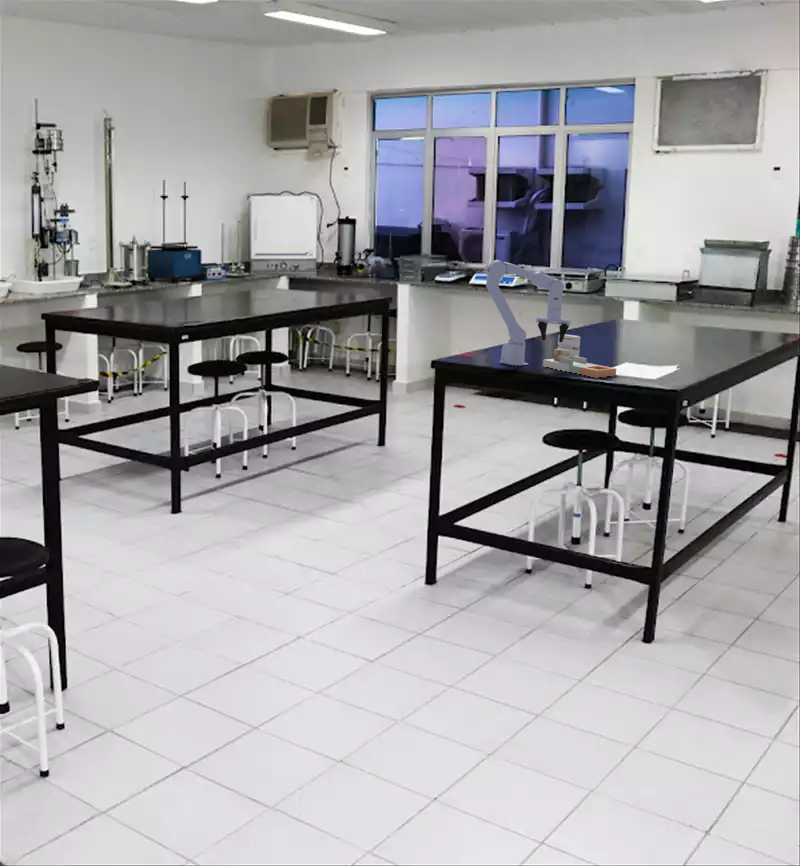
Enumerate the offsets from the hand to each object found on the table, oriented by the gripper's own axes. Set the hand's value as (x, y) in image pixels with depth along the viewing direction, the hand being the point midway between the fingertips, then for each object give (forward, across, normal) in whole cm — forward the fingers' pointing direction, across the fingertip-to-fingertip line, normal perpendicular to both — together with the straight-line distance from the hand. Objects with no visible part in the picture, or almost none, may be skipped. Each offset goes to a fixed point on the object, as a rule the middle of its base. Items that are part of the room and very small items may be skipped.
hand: (552, 341), depth 424 cm
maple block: (+7, +5, -1) cm, 9 cm away
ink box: (+11, +2, +15) cm, 18 cm away
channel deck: (+11, +14, -5) cm, 18 cm away
